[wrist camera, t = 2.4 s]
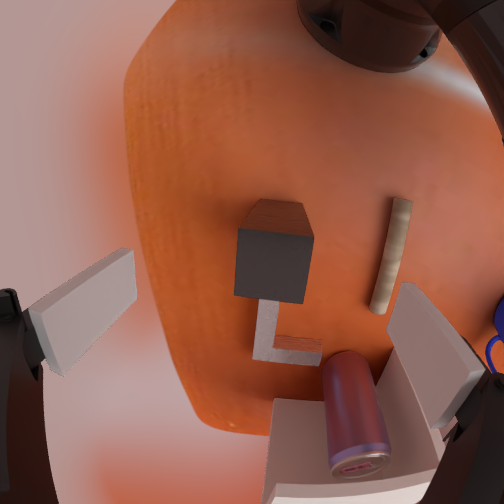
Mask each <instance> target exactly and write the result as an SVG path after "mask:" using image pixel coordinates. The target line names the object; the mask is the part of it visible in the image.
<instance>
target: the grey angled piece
mask: <svg viewBox="0 0 504 504" xmlns="http://www.w3.org/2000/svg"><path fill="white" fill-rule="evenodd" d="M313 243H314V234H313V232H312V229H311V226H310V223H309V220H308V217H307V214H306V212H305V209H304V206H303V203H295V202H287V201H278V200H269V199H260V200H259V201H258V202H257V204H256V205H255V206H254V208H253V209H252V211H251V212H250V213H249V215H248V216H247V217H246V219H245V220H244V221H243V223H242V224H241V225H240V227H239V229H238V242H237V257H236V271H235V286H234V296H241V297H248V298H256V299H259V306H258V315H257V323H256V332H255V341H254V350H253V358H252V359H254V360H261V361H269V362H277V363H287V364H297V365H308V366H319V364H320V361H321V357H322V354H323V351H322V344H321V340H318V339H307V338H297V337H288V336H279V335H275V330H276V324H277V317H278V311H279V304H280V302H288V303H296V304H303V301H304V296H305V290H306V285H307V279H308V273H309V268H310V262H311V256H312V249H313Z"/></svg>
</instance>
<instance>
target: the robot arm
mask: <svg viewBox="0 0 504 504" xmlns="http://www.w3.org/2000/svg"><path fill="white" fill-rule="evenodd" d="M297 9H298V13H299V16H300V18H301V20H302V22H303V24H304V26H305V27H306V29H307V30H308V32H309V33H310V34H311V35H312V36H313V37H314V38H315V39H316V40H317V41H318V42H319V43H320V44H321V45H322V46H323V47H325V48H326V49H327V50H329V51H330V52H332V53H333V54H335V55H336V56H338V57H340V58H341V59H343V60H345V61H347V62H349V63H352V64H354V65H356V66H359V67H362V68H365V69H369V70H373V71H378V72H386V73H397V72H404V71H408V70H411V69H413V68H415V67H417V66H419V65H420V64H422V63H423V62H425V61H426V60H427V59H429V58H430V57H431V56H432V55H433V53H434V52H435V50H436V49H437V46H438V44H439V41H440V38H441V35H442V33H444V34H445V35H446V37H447V38H448V40H449V41H450V42H451V44H452V45H453V47H454V48H455V49H456V51H457V52H458V54H459V55H460V57H461V58H462V60H463V61H464V63H465V65H466V66H467V68H468V69H469V71H470V73H471V74H472V76H473V78H474V79H475V81H476V83H477V85H478V87H479V88H480V90H481V92H482V94H483V96H484V98H485V100H486V102H487V104H488V106H489V108H490V110H491V112H492V114H493V116H494V119H495V121H496V123H497V125H498V128H499V130H500V132H501V135H502V141H503V146H504V0H297ZM137 299H138V298H137V286H136V276H135V262H134V250H133V249H126V248H120V249H119V250H117V251H115V252H113V253H112V254H110V255H109V256H107V257H105V258H104V259H102V260H100V261H99V262H97V263H95V264H94V265H92V266H90V267H89V268H87V269H86V270H84V271H82V272H81V273H79V274H78V275H76V276H75V277H73V278H72V279H70V280H68V281H67V282H66V283H64V284H62V285H61V286H60V287H58V288H56V289H55V290H53V291H52V292H50V293H49V294H47V295H46V296H44V297H43V298H41V299H40V300H38V301H37V302H36V303H34V304H33V305H31V306H30V307H29V308H27V309H26V310H24V311H23V312H22V311H21V307H20V304H19V300H18V297H17V293H16V291H15V290H14V289H10V288H7V289H1V290H0V504H59V502H58V499H57V495H56V491H55V487H54V482H53V478H52V473H51V468H50V462H49V456H48V449H47V441H46V432H45V421H44V405H43V367H42V365H41V361H43V360H44V359H46V361H47V364H48V366H49V368H50V370H51V371H53V372H55V373H57V374H59V375H61V376H63V377H64V376H65V374H66V373H67V372H68V371H69V370H70V369H71V368H72V367H73V366H74V364H75V363H76V362H77V361H78V360H79V359H80V358H81V357H82V356H83V355H84V354H85V353H86V352H87V350H88V349H89V348H90V347H91V346H92V345H93V344H94V343H95V342H96V341H97V340H98V339H99V338H100V336H102V335H103V333H104V332H105V331H106V330H107V329H108V328H109V327H110V326H111V325H112V324H113V323H114V322H115V321H116V320H117V319H118V318H119V317H120V316H121V315H122V314H123V313H124V312H125V311H126V310H127V309H128V308H129V307H130V306H131V305H132V304H133V303H134V302H135V301H136V300H137ZM386 331H387V333H388V335H389V337H390V339H391V341H392V343H393V345H394V347H395V349H396V351H397V353H398V355H399V357H400V359H401V361H402V363H403V366H404V368H405V370H406V372H407V374H408V376H409V379H410V381H411V383H412V385H413V388H414V390H415V392H416V395H417V397H418V399H419V402H420V404H421V406H422V409H423V411H424V414H425V416H426V419H427V421H428V424H429V427H430V429H436V428H440V427H445V426H447V425H448V423H449V422H450V421H451V420H452V418H453V417H454V416H456V418H457V420H458V422H457V423H456V424H455V426H454V427H453V428H452V429H451V430H450V432H449V433H448V434H447V435H446V436H445V438H444V439H443V440H442V441H443V442H445V441H446V439H447V438H449V437H450V438H449V441H448V443H447V446H446V448H445V451H444V453H443V456H442V458H441V461H440V463H439V465H438V467H437V470H436V472H435V474H434V476H433V478H432V480H431V482H430V484H429V486H428V488H427V490H426V492H425V494H424V496H423V498H422V499H421V501H420V503H419V504H504V374H502V373H499V372H496V373H491V372H490V370H489V369H488V368H487V366H486V365H485V364H484V362H483V361H482V360H481V358H480V357H479V356H478V354H476V352H475V350H474V349H473V348H472V346H471V345H470V344H469V343H468V341H467V340H466V339H465V338H464V337H462V336H461V335H460V334H458V332H457V331H456V330H455V329H454V327H453V326H452V325H451V324H450V323H449V321H448V320H447V319H446V318H445V317H444V316H443V314H442V313H441V312H440V311H439V310H438V309H437V307H436V306H435V305H434V304H433V303H432V302H431V301H430V299H429V298H428V297H427V296H426V295H425V294H424V293H423V292H422V291H421V289H420V288H419V287H418V286H417V285H416V284H415V283H408V282H402V283H401V287H400V290H399V293H398V297H397V300H396V303H395V306H394V309H393V312H392V315H391V318H390V321H389V324H388V326H387V329H386Z"/></svg>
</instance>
